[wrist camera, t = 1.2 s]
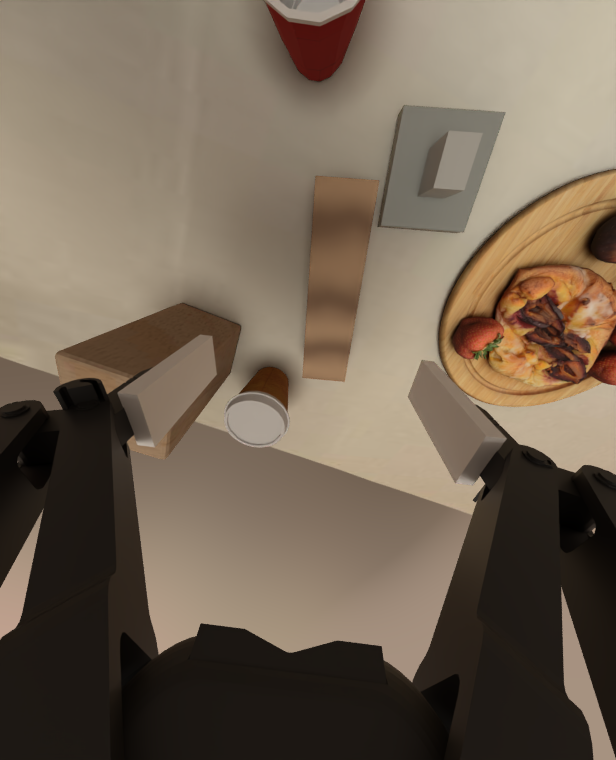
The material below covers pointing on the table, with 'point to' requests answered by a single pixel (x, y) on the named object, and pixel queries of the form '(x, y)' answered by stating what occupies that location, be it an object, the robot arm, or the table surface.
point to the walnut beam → (336, 272)
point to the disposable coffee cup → (260, 410)
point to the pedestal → (437, 167)
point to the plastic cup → (316, 32)
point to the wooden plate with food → (539, 302)
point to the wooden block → (152, 359)
